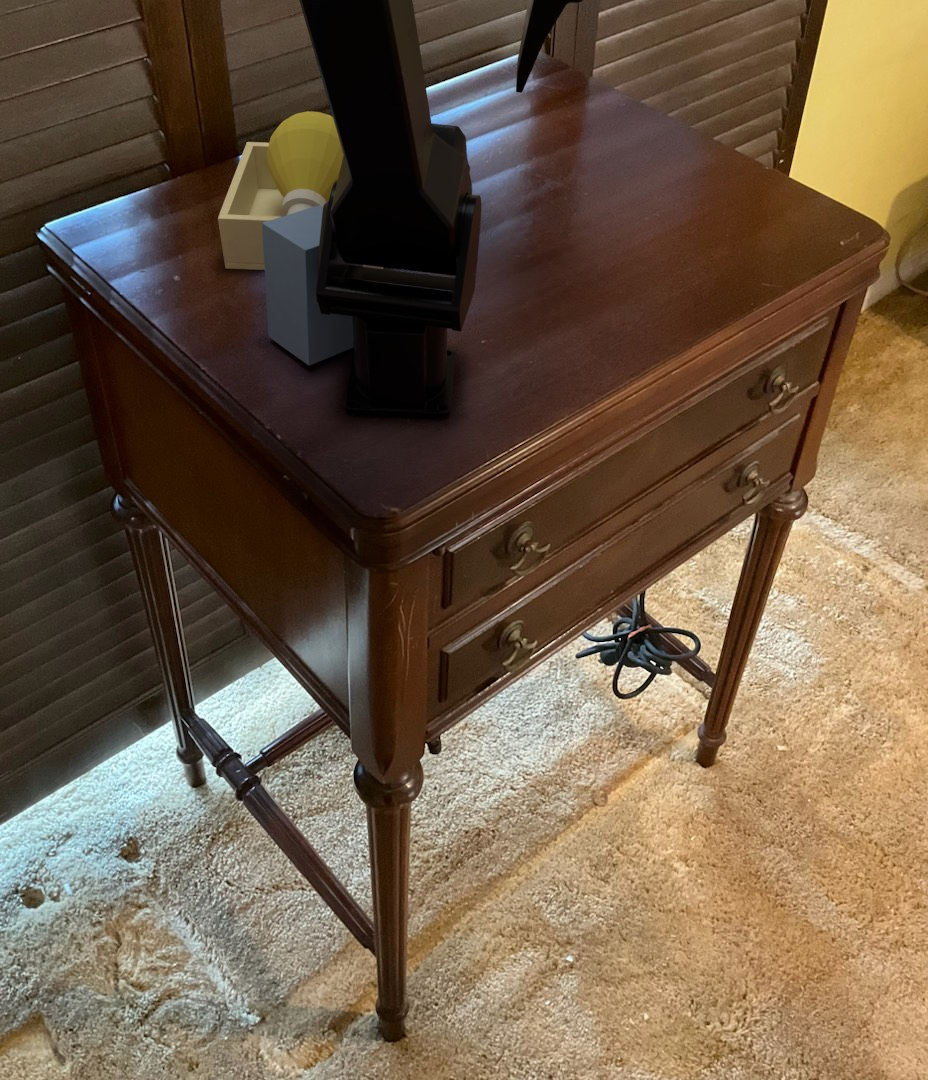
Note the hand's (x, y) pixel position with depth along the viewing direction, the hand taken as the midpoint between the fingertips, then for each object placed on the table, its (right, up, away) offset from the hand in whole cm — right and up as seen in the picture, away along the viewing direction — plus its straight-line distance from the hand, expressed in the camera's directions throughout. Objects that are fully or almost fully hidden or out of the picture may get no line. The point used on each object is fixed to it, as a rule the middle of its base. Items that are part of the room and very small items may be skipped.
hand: (446, 87), depth 71 cm
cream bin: (-10, -6, +12) cm, 17 cm away
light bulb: (-10, -7, +7) cm, 14 cm away
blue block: (-9, -16, +2) cm, 18 cm away
